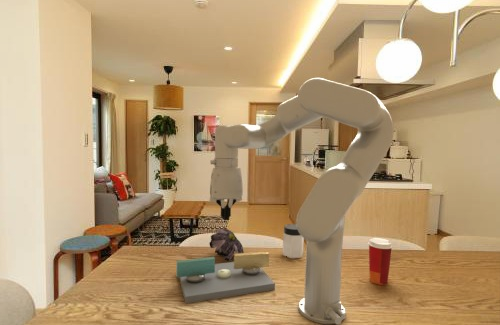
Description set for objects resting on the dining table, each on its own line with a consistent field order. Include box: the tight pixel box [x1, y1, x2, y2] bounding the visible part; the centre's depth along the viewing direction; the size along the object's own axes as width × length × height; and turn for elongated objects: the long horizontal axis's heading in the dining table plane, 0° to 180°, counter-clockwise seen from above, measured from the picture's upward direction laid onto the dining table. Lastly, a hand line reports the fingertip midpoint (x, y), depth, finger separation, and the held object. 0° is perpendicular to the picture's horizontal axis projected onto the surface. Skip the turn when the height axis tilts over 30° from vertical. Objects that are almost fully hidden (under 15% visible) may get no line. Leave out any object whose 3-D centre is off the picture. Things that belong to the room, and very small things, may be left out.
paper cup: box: [367, 237, 394, 286], centre depth 100 cm, size 8×8×14 cm
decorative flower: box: [208, 228, 245, 262], centre depth 119 cm, size 15×12×15 cm
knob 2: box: [233, 251, 270, 275], centre depth 100 cm, size 12×6×6 cm, turn 102°
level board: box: [178, 261, 276, 304], centre depth 98 cm, size 20×28×4 cm
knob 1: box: [175, 256, 216, 283], centre depth 94 cm, size 12×6×6 cm, turn 110°
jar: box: [282, 223, 305, 259], centre depth 123 cm, size 9×8×12 cm
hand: (225, 219), depth 96 cm, fingers closed
